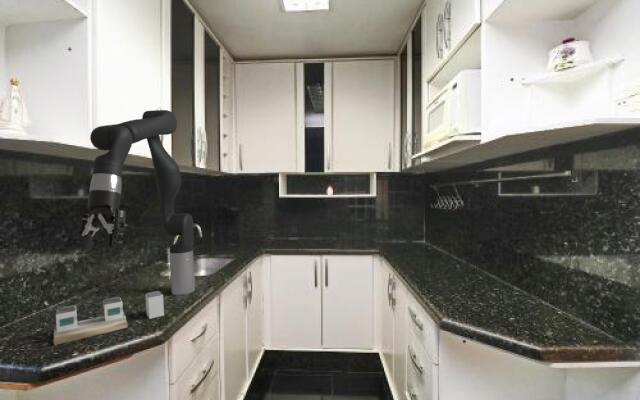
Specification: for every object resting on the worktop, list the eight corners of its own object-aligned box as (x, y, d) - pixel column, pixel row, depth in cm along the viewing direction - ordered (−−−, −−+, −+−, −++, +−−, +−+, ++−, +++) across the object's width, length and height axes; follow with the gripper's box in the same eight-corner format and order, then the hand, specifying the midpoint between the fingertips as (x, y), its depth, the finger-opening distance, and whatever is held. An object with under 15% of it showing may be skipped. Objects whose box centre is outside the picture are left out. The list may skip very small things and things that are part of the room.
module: (146, 314, 115) (145, 292, 114) (160, 311, 117) (159, 290, 117) (149, 318, 110) (148, 296, 110) (164, 315, 113) (162, 293, 113)
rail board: (55, 331, 102) (54, 306, 102) (122, 316, 113) (121, 293, 113) (53, 345, 93) (52, 317, 92) (127, 327, 103) (126, 302, 103)
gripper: (136, 192, 95) (130, 249, 92) (98, 197, 99) (91, 251, 96) (113, 186, 88) (106, 247, 85) (73, 191, 92) (65, 250, 89)
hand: (98, 249), depth 90 cm, fingers open, 8 cm apart
